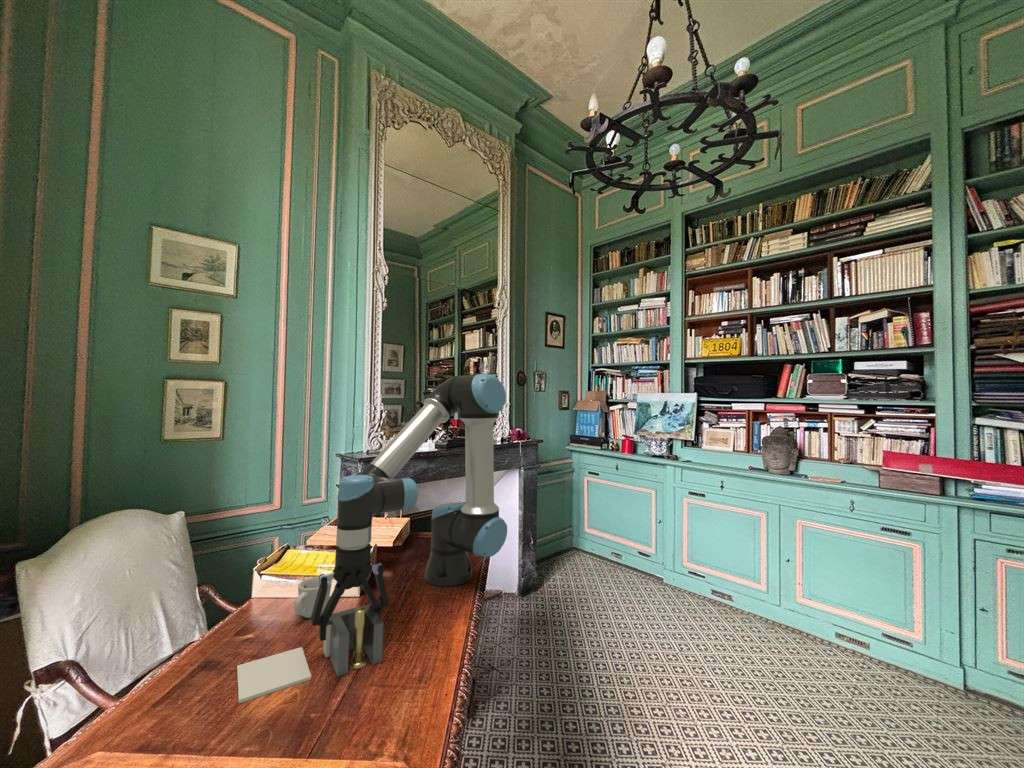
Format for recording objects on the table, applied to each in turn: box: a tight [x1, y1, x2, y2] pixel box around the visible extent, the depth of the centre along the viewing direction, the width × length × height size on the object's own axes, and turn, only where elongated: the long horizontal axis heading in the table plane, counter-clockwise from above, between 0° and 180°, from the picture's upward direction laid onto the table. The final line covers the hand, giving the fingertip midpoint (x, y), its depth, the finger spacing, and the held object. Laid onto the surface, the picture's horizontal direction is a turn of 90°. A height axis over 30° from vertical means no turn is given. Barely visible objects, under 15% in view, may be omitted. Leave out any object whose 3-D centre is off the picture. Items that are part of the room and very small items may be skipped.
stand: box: [348, 608, 368, 670], centre depth 87 cm, size 4×4×11 cm
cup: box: [293, 576, 333, 619], centre depth 106 cm, size 11×8×8 cm
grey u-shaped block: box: [328, 603, 384, 677], centre depth 89 cm, size 9×10×8 cm
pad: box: [236, 646, 312, 704], centre depth 83 cm, size 12×12×1 cm
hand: (349, 646), depth 92 cm, fingers closed on grey u-shaped block, 9 cm apart
